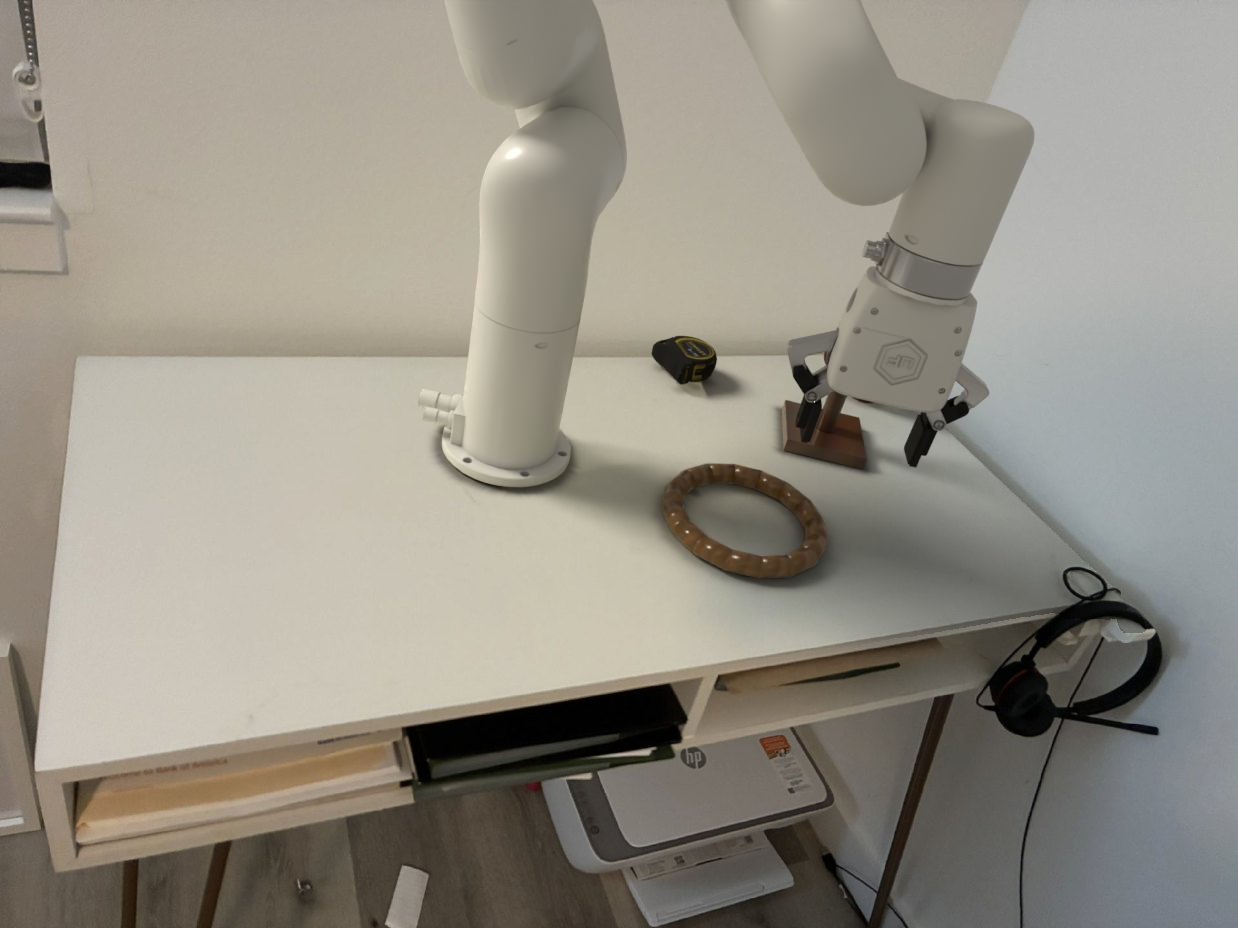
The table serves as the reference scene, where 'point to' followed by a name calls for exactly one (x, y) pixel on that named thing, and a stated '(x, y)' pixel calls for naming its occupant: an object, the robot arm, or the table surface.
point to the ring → (733, 558)
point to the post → (827, 434)
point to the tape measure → (685, 358)
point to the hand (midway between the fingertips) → (856, 446)
